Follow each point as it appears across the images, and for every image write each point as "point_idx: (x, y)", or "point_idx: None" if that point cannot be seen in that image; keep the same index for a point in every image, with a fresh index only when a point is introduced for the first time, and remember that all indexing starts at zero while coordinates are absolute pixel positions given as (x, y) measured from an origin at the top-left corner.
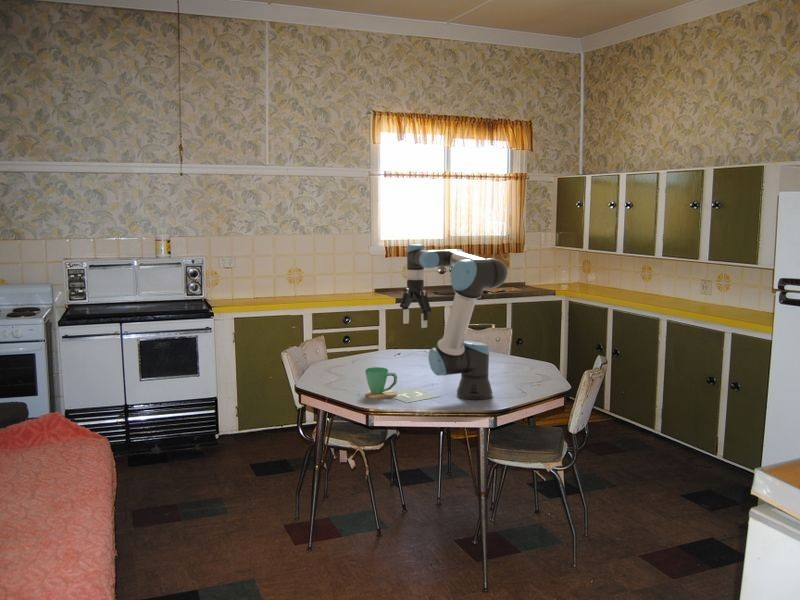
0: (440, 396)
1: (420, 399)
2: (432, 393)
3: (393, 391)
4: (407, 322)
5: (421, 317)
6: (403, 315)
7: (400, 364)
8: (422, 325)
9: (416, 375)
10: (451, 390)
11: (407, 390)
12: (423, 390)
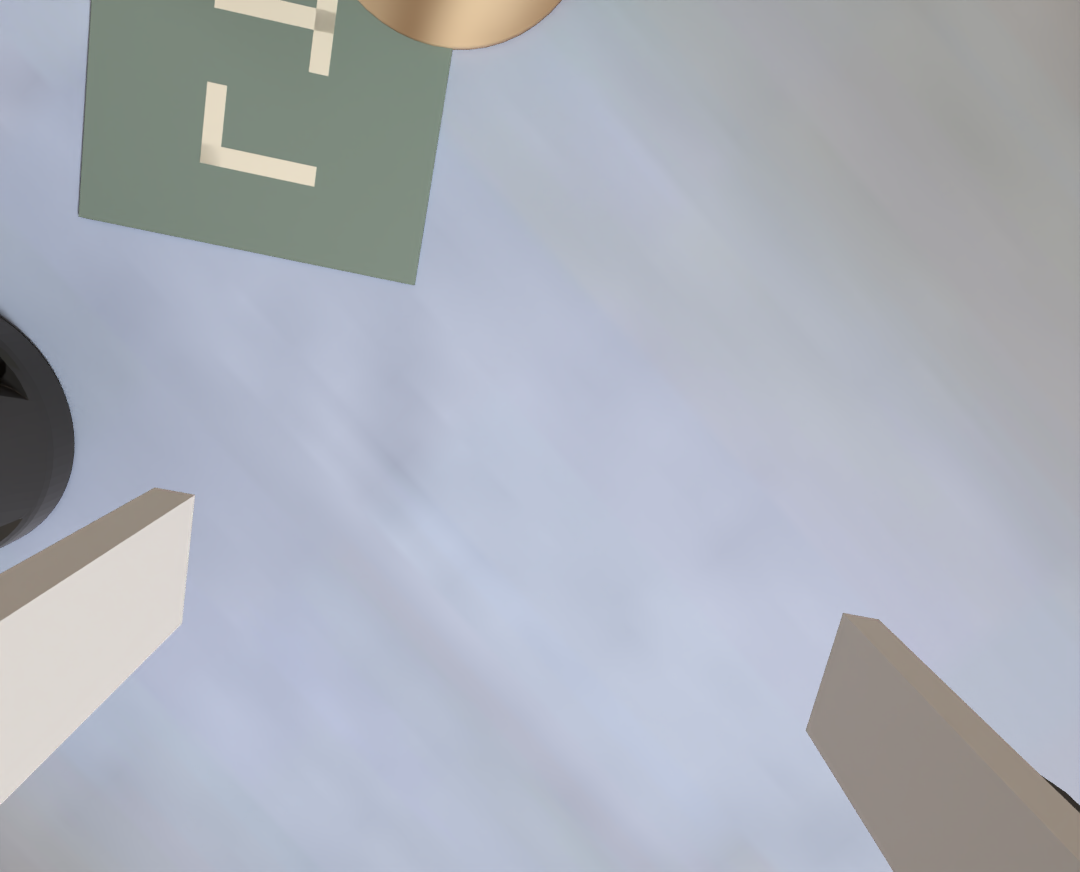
0: (79, 215)
1: (104, 9)
2: (181, 235)
3: (424, 20)
4: (825, 705)
5: (17, 602)
6: (994, 737)
7: None
8: (122, 510)
9: (674, 587)
10: (163, 422)
11: (389, 163)
12: (299, 258)
